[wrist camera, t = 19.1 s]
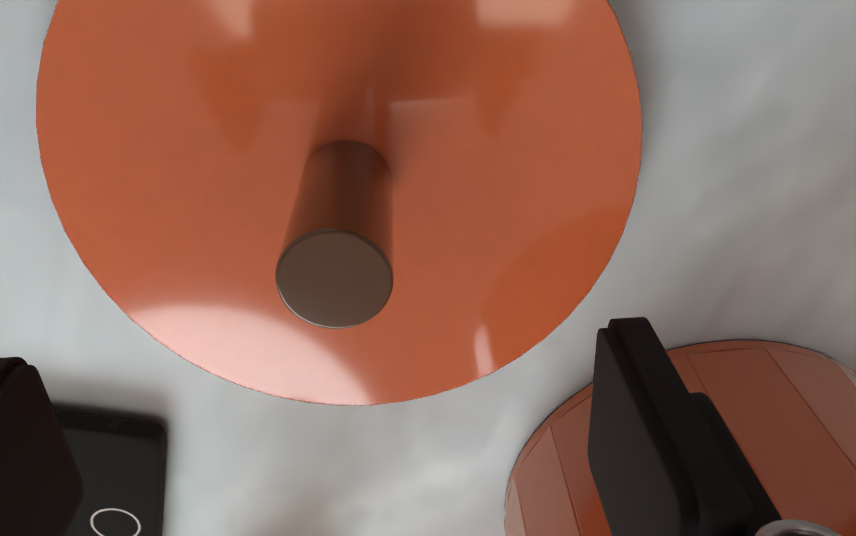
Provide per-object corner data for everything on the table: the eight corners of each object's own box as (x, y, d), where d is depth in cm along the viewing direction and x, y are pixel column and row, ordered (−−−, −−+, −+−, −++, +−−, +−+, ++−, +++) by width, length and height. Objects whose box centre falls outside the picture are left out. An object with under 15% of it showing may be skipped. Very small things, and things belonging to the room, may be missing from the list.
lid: (223, -348, 14) (119, -472, 9) (750, 94, 19) (888, 187, 14) (-29, 234, 20) (-179, 369, 15) (419, 448, 25) (426, 606, 20)
